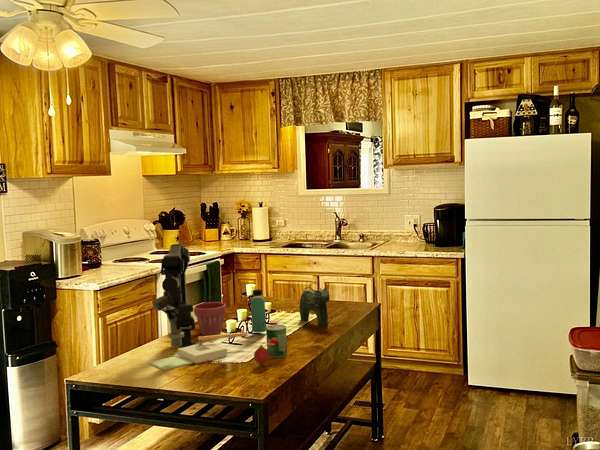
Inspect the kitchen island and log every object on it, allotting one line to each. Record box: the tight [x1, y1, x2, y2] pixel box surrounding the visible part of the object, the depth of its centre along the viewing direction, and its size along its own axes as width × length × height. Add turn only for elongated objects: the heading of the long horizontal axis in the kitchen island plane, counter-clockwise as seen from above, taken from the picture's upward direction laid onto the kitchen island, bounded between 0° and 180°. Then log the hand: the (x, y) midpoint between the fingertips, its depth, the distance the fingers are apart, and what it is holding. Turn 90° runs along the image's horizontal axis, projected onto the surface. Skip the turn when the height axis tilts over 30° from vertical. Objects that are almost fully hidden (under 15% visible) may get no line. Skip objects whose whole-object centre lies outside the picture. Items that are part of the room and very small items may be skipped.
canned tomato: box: [265, 324, 288, 358], centre depth 257 cm, size 8×8×11 cm
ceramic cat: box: [299, 281, 331, 327], centre depth 308 cm, size 20×6×20 cm, turn 34°
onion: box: [253, 344, 271, 367], centre depth 243 cm, size 6×6×8 cm
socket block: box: [177, 340, 228, 364], centre depth 259 cm, size 14×14×5 cm
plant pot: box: [193, 301, 227, 336], centre depth 296 cm, size 14×14×13 cm
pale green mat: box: [148, 355, 193, 371], centre depth 251 cm, size 12×12×1 cm
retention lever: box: [197, 331, 248, 341], centre depth 268 cm, size 20×2×1 cm, turn 103°
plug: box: [167, 318, 184, 347], centre depth 251 cm, size 6×6×10 cm
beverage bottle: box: [250, 288, 267, 334], centre depth 290 cm, size 6×7×20 cm
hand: (175, 328), depth 251 cm, fingers closed on plug, 4 cm apart
